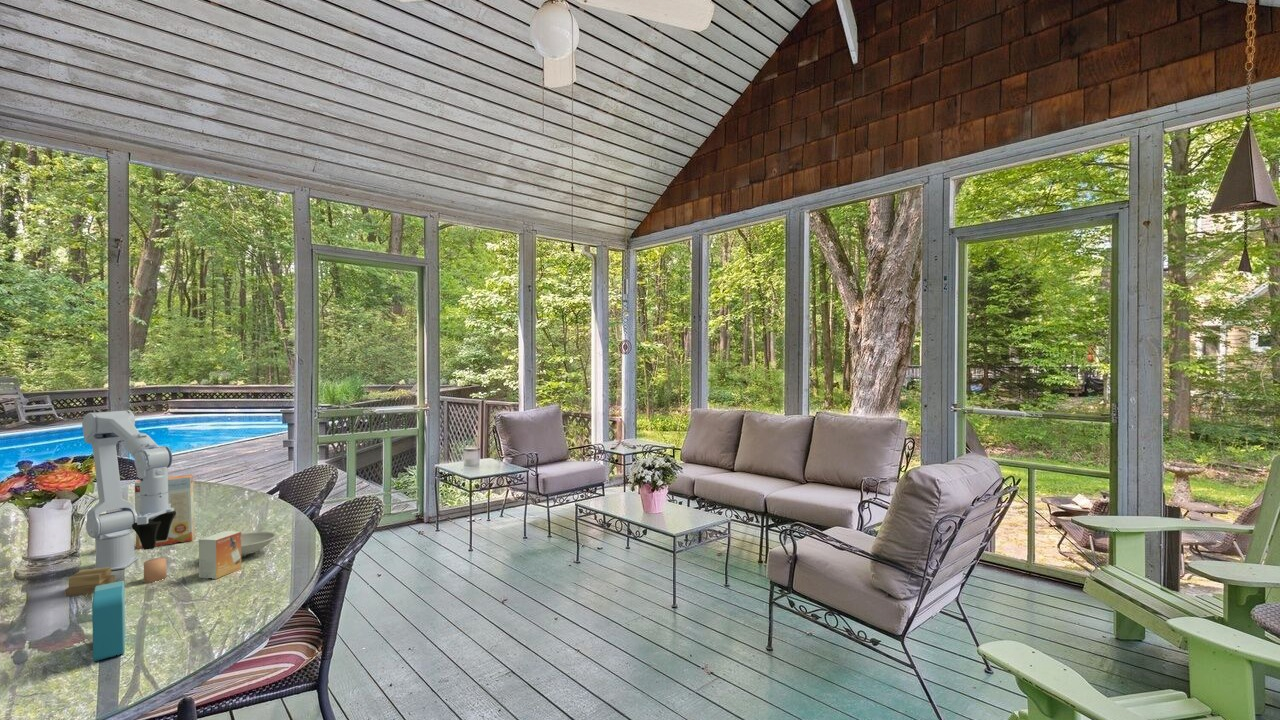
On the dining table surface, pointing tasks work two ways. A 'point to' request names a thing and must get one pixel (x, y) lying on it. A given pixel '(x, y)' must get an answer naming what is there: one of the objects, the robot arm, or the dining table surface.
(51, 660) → the dining table surface
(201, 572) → the small box
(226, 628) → the dining table surface
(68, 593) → the tan square slab
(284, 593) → the dining table surface
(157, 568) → the terracotta cylinder
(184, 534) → the cracker box
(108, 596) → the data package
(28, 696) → the dining table surface
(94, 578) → the oak top block
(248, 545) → the dish
